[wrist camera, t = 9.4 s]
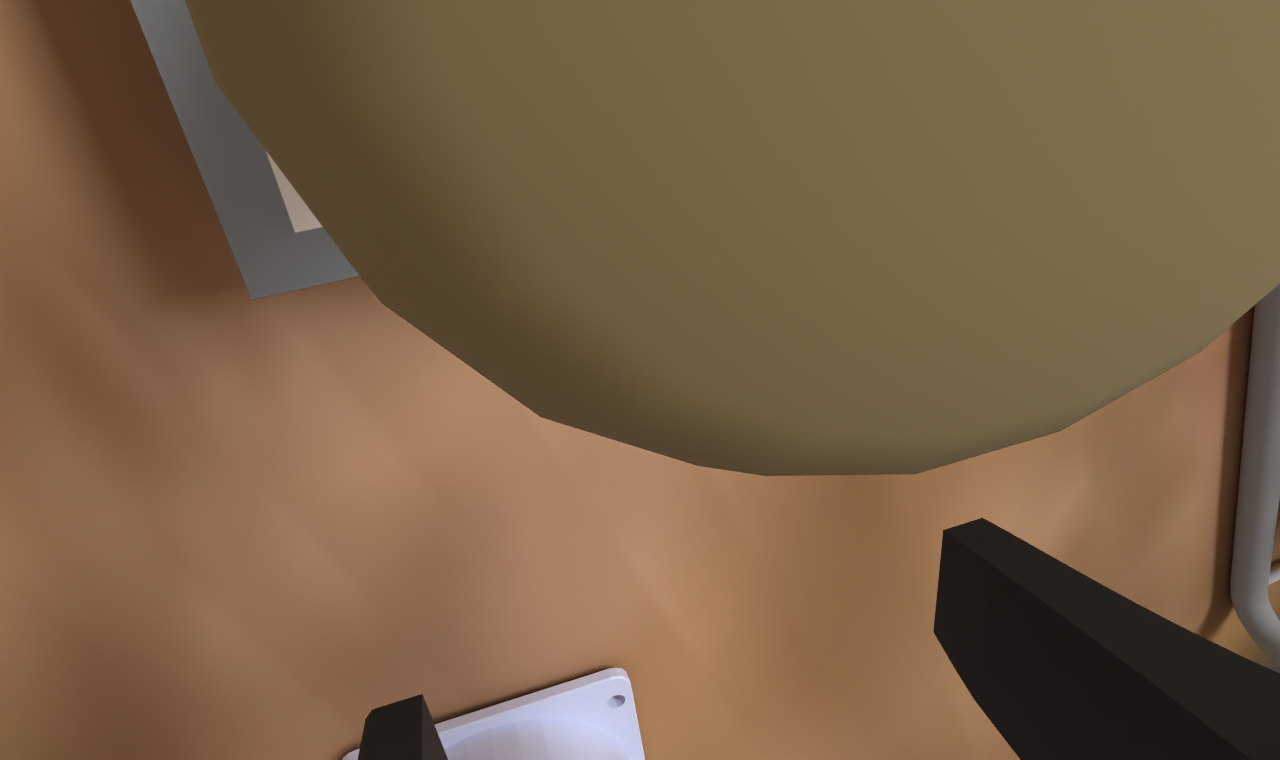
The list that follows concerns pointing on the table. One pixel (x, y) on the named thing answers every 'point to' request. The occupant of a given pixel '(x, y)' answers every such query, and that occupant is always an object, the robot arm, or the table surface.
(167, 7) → the plinth
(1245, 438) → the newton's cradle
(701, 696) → the table surface
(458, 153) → the cork
